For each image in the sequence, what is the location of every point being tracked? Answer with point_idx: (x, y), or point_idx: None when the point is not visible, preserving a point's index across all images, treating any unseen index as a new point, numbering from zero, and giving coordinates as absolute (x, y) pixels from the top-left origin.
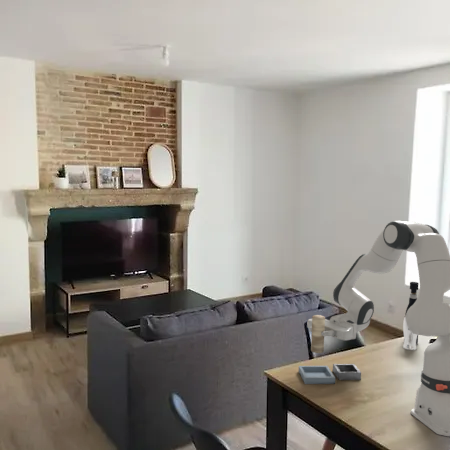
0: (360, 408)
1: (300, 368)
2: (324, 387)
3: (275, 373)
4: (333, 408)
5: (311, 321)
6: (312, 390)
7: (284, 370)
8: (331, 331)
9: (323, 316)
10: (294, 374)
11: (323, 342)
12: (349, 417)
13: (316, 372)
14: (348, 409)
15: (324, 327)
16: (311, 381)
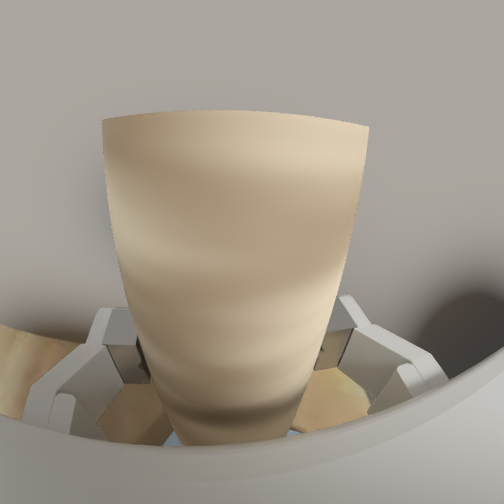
0: (4, 391)
1: (295, 432)
2: (138, 439)
3: (328, 371)
4: (51, 352)
5: (501, 348)
6: (149, 392)
7: (345, 407)
8: (39, 380)
9: (202, 111)
10: (299, 423)
11: (171, 424)
12: (14, 343)
13: None
14: (23, 370)
15: (135, 322)
16: None
